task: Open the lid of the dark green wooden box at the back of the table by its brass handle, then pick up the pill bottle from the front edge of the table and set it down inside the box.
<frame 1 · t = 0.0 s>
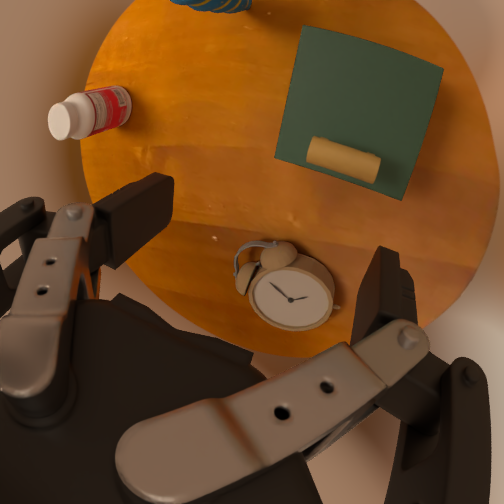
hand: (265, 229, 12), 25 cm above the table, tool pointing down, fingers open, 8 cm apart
lid: (356, 113, 21), point 11 cm above the table, hinge at 0.0°
ornament: (248, 6, 27), on the table
pill bottle: (118, 105, 39), on the table
alarm clock: (287, 276, 44), on the table
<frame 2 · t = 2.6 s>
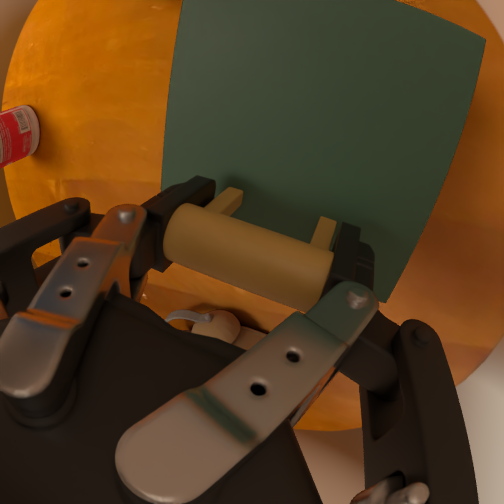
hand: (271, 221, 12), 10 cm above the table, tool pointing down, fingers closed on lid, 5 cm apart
lid: (285, 141, 10), point 11 cm above the table, hinge at -0.1°, touching gripper
pill bottle: (29, 128, 28), on the table
alarm clock: (235, 347, 32), on the table
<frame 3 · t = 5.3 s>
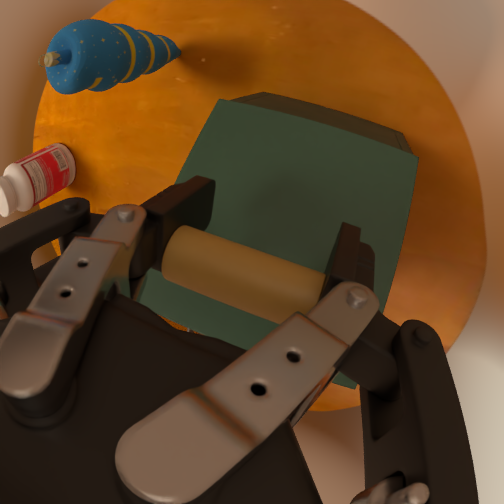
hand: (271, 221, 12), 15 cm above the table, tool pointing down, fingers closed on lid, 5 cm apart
lid: (279, 206, 13), point 14 cm above the table, hinge at 47.1°, touching gripper
ornament: (179, 51, 24), on the table
chest: (315, 174, 26), on the table
pill bottle: (64, 163, 36), on the table
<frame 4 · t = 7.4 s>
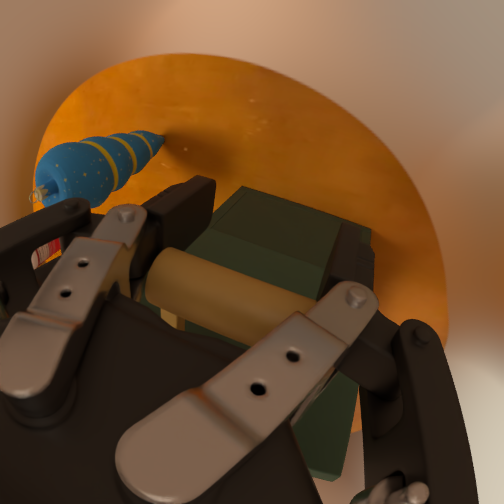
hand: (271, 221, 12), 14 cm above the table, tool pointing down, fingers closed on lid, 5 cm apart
lid: (254, 285, 14), point 14 cm above the table, hinge at 91.3°, touching gripper
ornament: (163, 136, 28), on the table
chest: (290, 260, 30), on the table
pill bottle: (63, 220, 39), on the table
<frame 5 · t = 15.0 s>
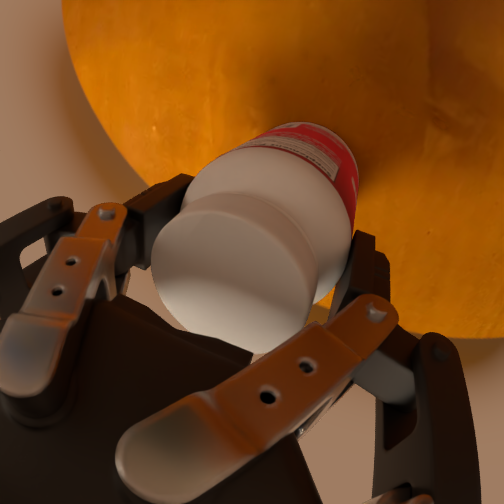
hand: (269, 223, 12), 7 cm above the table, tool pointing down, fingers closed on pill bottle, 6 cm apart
pill bottle: (305, 173, 17), on the table, touching gripper
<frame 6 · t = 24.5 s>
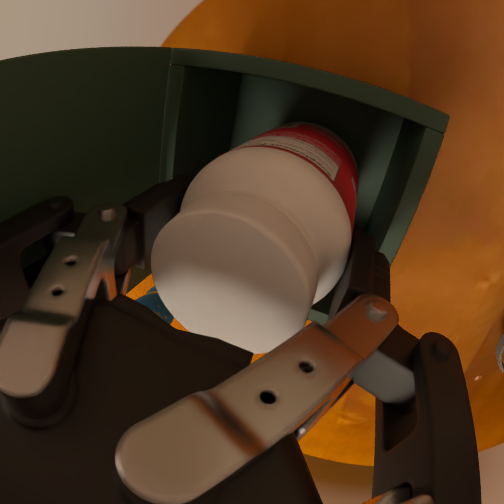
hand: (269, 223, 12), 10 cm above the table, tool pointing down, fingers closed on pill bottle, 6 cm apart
lid: (20, 202, 10), point 14 cm above the table, hinge at 94.9°
ornament: (181, 279, 30), on the table
chest: (307, 157, 20), on the table
pill bottle: (305, 172, 17), point 3 cm above the table, touching gripper
when the fingers open (7 cm above the table, at t = 25.8 s): pill bottle stays where it is, resting on chest.
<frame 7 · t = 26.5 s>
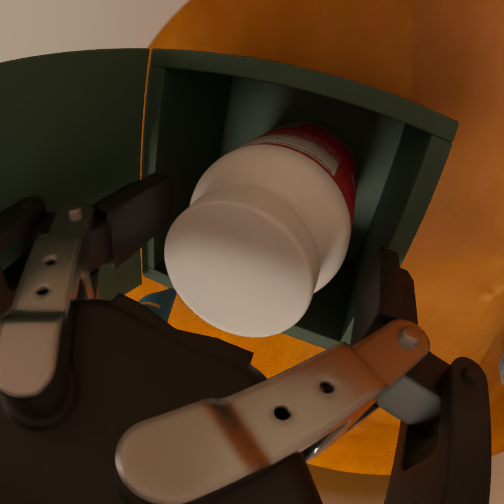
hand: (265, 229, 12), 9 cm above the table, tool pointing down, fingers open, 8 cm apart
ornament: (173, 288, 29), on the table
chest: (302, 164, 19), on the table
pill bottle: (306, 170, 18), point 1 cm above the table, touching chest
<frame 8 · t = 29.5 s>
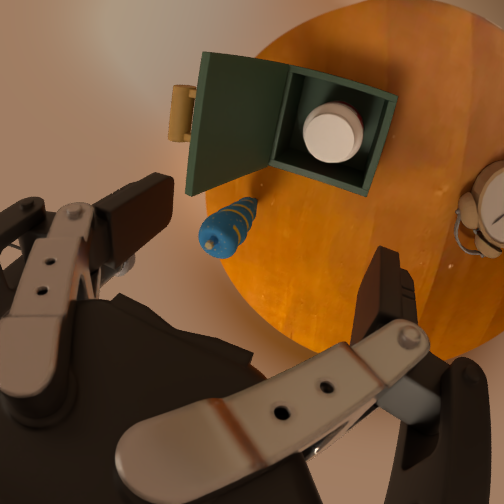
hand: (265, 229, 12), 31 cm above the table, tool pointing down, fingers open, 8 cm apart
lid: (220, 113, 28), point 14 cm above the table, hinge at 103.3°
ornament: (254, 199, 46), on the table
chest: (336, 121, 37), on the table
pill bottle: (339, 123, 36), point 1 cm above the table, touching chest
alarm clock: (493, 205, 34), on the table
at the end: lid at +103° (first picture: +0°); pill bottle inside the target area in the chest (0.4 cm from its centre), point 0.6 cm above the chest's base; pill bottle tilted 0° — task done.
